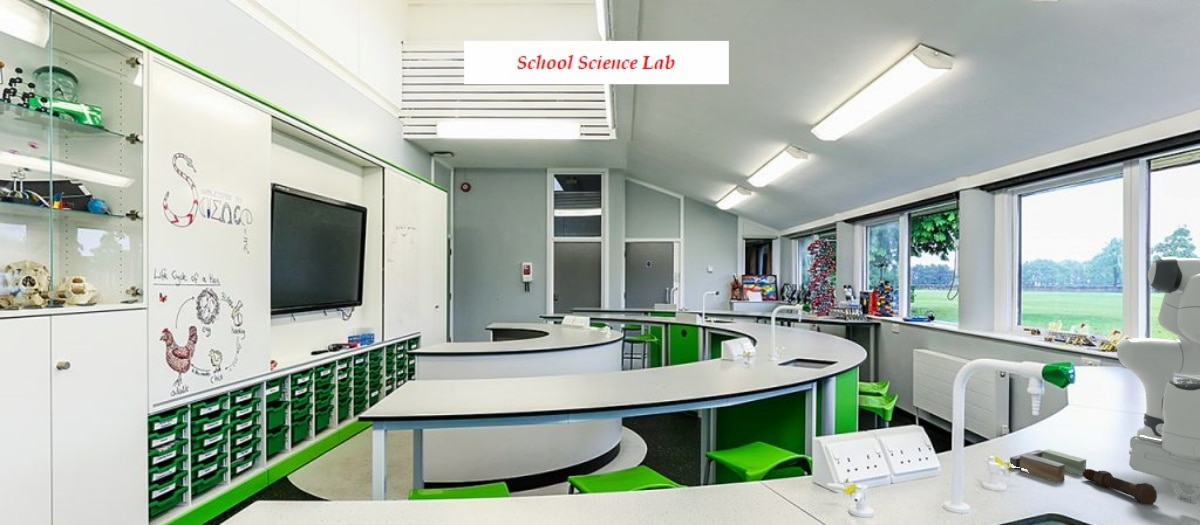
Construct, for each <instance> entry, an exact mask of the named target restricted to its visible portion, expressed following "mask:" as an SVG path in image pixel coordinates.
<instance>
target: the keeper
mask: <svg viewBox="0 0 1200 525" xmlns="http://www.w3.org/2000/svg"><path fill="white" fill-rule="evenodd" d="M1010 463H1011V464H1013V465H1014V466H1016V467H1020V468H1024V469H1027V470H1028V472H1029V473H1028V474H1029V475H1033V476H1035V475H1036V476H1035V477H1039V478H1041V477H1042V479H1046V480H1048V479H1049V480H1048V481H1052V482H1054V481H1055V482H1054V483H1057V482H1058V483H1060V481H1061V482H1063V480H1064V481H1065V474H1066V472H1067V471H1068V473H1070V472H1071V474H1075V475H1077V474H1078V476H1081V474H1082V475H1083V472H1085V471H1084V470H1085V469H1087V459H1086V458H1081V457H1078V456H1075V455H1071V454H1067V453H1063V452H1061V451H1056V450H1053V449H1044V450H1042V449H1036V450H1033V451H1028V452H1025V453H1022V454H1018V455H1015V456H1010V458H1009V464H1010ZM1020 468H1019V469H1020Z"/></svg>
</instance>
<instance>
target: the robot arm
mask: <svg viewBox="0 0 1200 525" xmlns="http://www.w3.org/2000/svg"><path fill="white" fill-rule="evenodd" d="M1147 280H1148V282H1149V285H1150V287H1151V288H1153V289H1154V290H1156V291H1159V292H1162V293H1164V296H1163V298H1162V303H1161V304H1160V306H1161V307H1160V309H1159V313H1158V316H1157V320H1158V321H1157V322H1158V323H1159V325H1160V327H1162V329H1163V330H1166V331H1167V332H1169V333H1171V334H1173V335H1175V336H1178V337H1177V338H1176V339H1167V338H1154V337H1153V338H1152V337H1137V338H1126V339H1124V340H1122V341H1121V342H1120V344H1119V345H1118V346H1117V349H1116V356H1117V358H1118V360H1119V362H1120V363H1121V365H1122V366H1124V367H1125V368H1127V369H1128V370H1130V371H1131V372H1132V373H1134V375H1136V377H1138V379H1139V381H1140V382H1141V383H1142V385H1143V388H1144V391H1145V392H1144V393H1145V400H1146V401H1145V402H1146V406H1145V407H1146V409H1145V410H1146V412H1145V413H1144V416H1143V425H1144V426H1143V427H1141V428H1139V429H1137V431H1136V435H1135V436H1132V437H1131V438H1130V439H1129V445H1130V446H1129V447H1130V449H1129V450H1128V453H1130V456H1129V466H1130V468H1131V469H1132V470H1133V471H1136V472H1140V473H1143V474H1147V475H1151V476H1155V477H1159V478H1163V479H1167V480H1169V481H1170V485H1171V488H1173V490H1174V492H1175V493H1176V499H1177V500H1178V501H1181V502H1186V503H1189V504H1192V505H1196V504H1197V500H1198V499H1197V497H1198V496H1200V380H1197V379H1192V378H1190V379H1188V378H1174V376H1187V377H1198V378H1200V258H1199V257H1197V258H1195V257H1176V256H1165V257H1160V258H1158V259H1156V260H1154V261H1153V263H1152V264H1151V266H1150V267H1149V269H1148V271H1147ZM1182 484H1184V485H1189V486H1191V489H1192V490H1193V491H1194V492H1193V493H1192V494H1191V493H1188V492H1187V493H1186V492H1184V491H1183V490H1182V487H1181V486H1182Z"/></svg>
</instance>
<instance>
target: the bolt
mask: <svg viewBox="0 0 1200 525" xmlns="http://www.w3.org/2000/svg"><path fill="white" fill-rule="evenodd" d="M1084 471H1085V472H1083V474H1082V476H1083V478H1084V479H1086V480H1088V481H1090V482H1093V483H1095V484H1094V485H1095V486H1097V487H1099V488H1100V489H1101V488H1102V489H1112V490H1115V491H1117V492H1120V493H1123V494H1126V495H1128V496H1131V497H1133V498H1134V499H1135V501H1136V503H1138V504H1141V505H1143V506H1144V505H1145V506H1149V505H1150V506H1151V505H1154V504H1155V503H1156V501H1157V500H1158V499H1157V498H1158V497H1157V496H1158V494H1157V490H1156V488H1155V487H1154V486H1153V485H1152V484H1150V483H1147V482H1144V483H1141V482H1140V483H1139V482H1138V483H1133V482H1130V481H1127V480H1124V479H1121V478H1118V477H1114V476H1113V474H1112V473H1111V472H1110V471H1107V470H1094V469H1091V468H1086V469H1085V470H1084Z"/></svg>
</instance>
